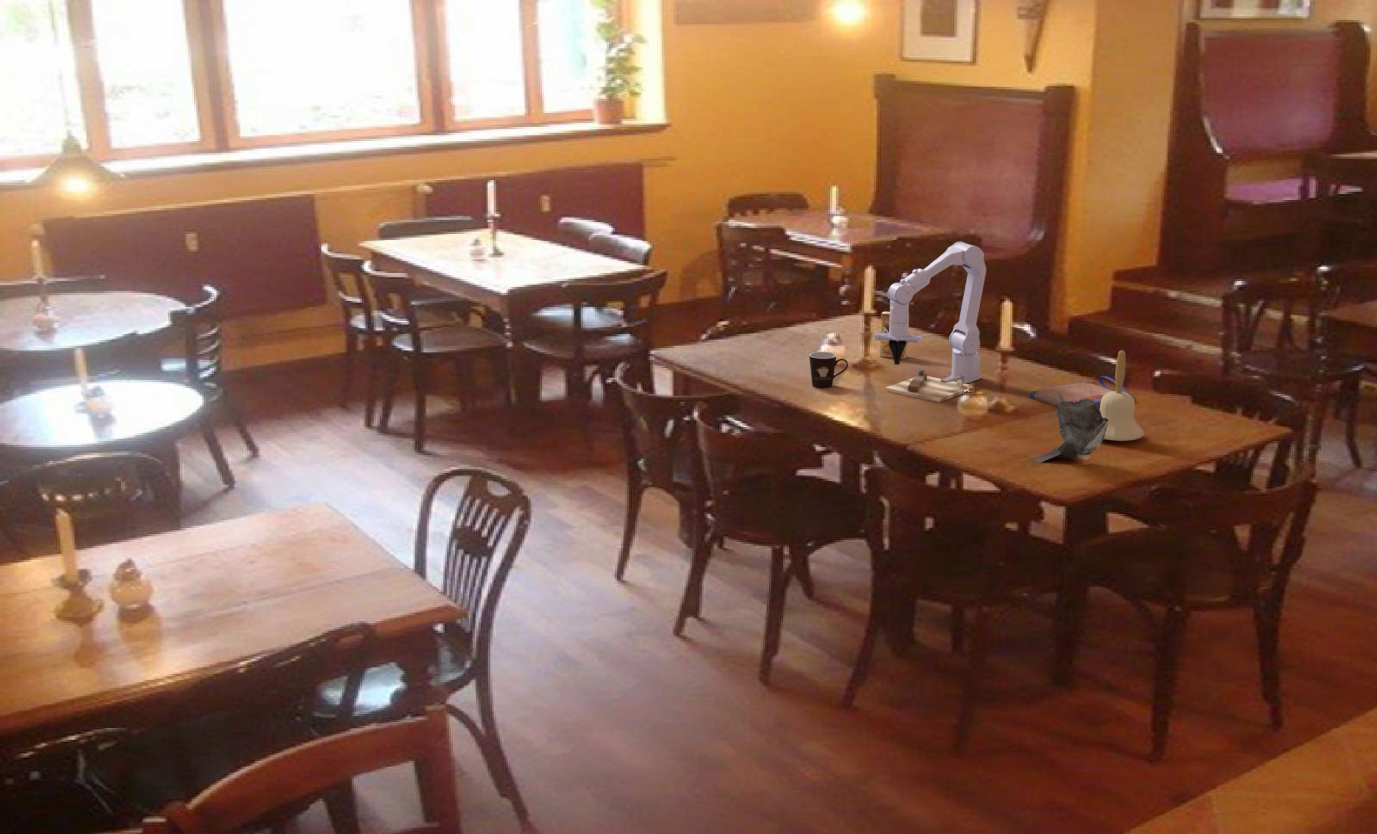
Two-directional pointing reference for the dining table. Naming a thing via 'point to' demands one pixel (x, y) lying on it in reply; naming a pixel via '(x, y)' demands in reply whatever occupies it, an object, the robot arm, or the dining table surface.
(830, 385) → the coffee mug
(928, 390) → the base board
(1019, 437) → the dining table surface
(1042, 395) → the clutch
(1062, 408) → the grey bird figurine
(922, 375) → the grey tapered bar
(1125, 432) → the handbell
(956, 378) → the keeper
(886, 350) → the candy box
